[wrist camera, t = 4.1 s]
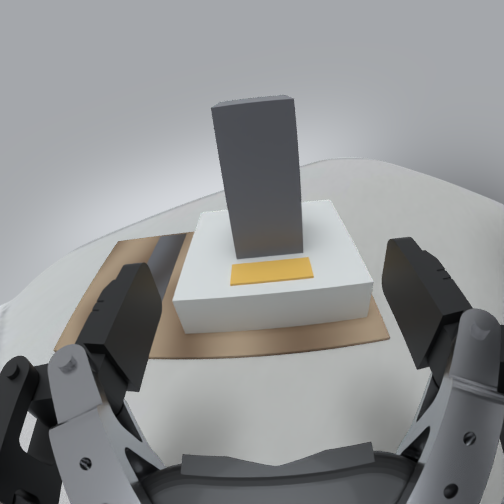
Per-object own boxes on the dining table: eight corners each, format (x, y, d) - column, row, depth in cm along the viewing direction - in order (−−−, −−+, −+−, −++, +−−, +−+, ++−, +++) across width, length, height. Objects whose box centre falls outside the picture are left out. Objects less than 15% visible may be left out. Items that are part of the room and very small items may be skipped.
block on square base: (329, 227, 28) (325, 90, 21) (367, 316, 18) (386, 104, 11) (207, 239, 29) (180, 107, 22) (185, 333, 19) (120, 133, 12)
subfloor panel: (334, 222, 30) (334, 217, 29) (387, 343, 16) (390, 336, 16) (119, 245, 31) (118, 241, 31) (57, 354, 18) (53, 349, 18)
